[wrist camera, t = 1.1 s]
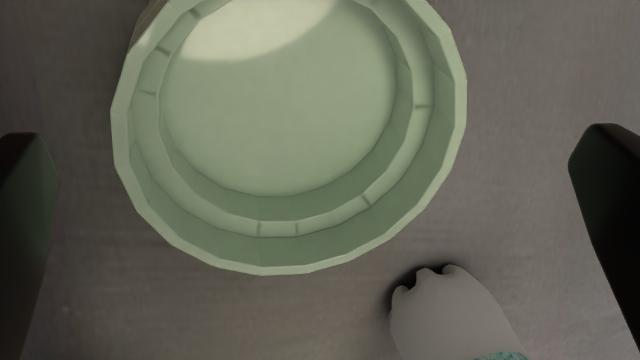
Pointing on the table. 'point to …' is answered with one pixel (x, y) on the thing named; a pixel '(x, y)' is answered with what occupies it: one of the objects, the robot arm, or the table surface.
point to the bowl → (286, 126)
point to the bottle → (451, 320)
